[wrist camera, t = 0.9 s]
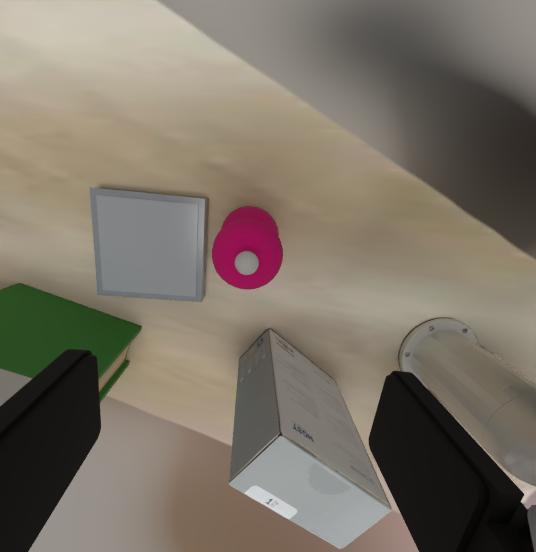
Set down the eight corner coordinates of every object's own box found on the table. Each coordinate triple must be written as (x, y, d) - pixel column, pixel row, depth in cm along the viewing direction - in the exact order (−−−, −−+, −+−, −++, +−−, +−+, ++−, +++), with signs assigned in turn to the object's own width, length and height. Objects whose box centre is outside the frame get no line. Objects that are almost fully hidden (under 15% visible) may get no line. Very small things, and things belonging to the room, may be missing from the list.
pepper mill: (284, 219, 38) (314, 241, 19) (262, 265, 40) (270, 327, 21) (236, 196, 37) (218, 194, 18) (216, 244, 39) (179, 289, 20)
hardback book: (141, 326, 42) (3, 484, 19) (127, 365, 44) (-15, 555, 20) (19, 282, 39) (-318, 405, 16) (10, 326, 41) (-307, 494, 18)
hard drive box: (237, 359, 44) (223, 483, 25) (268, 326, 43) (280, 430, 24) (306, 410, 48) (341, 554, 28) (337, 381, 46) (396, 511, 27)
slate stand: (208, 198, 37) (204, 198, 35) (204, 295, 41) (201, 302, 38) (100, 188, 36) (88, 187, 34) (107, 288, 40) (97, 295, 37)
